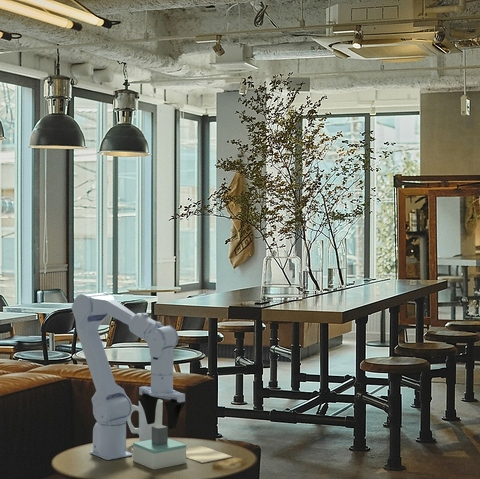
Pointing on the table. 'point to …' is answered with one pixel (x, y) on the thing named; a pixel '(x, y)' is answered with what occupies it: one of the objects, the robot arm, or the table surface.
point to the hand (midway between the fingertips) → (161, 426)
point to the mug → (145, 428)
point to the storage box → (159, 458)
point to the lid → (159, 441)
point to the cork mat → (205, 454)
